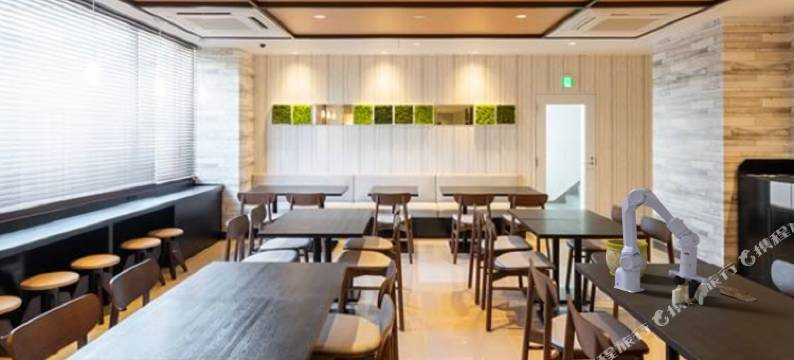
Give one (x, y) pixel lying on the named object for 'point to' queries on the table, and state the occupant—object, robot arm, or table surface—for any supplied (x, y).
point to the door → (699, 296)
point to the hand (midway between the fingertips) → (686, 296)
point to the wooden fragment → (735, 293)
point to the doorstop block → (685, 292)
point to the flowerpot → (615, 254)
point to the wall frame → (678, 292)
